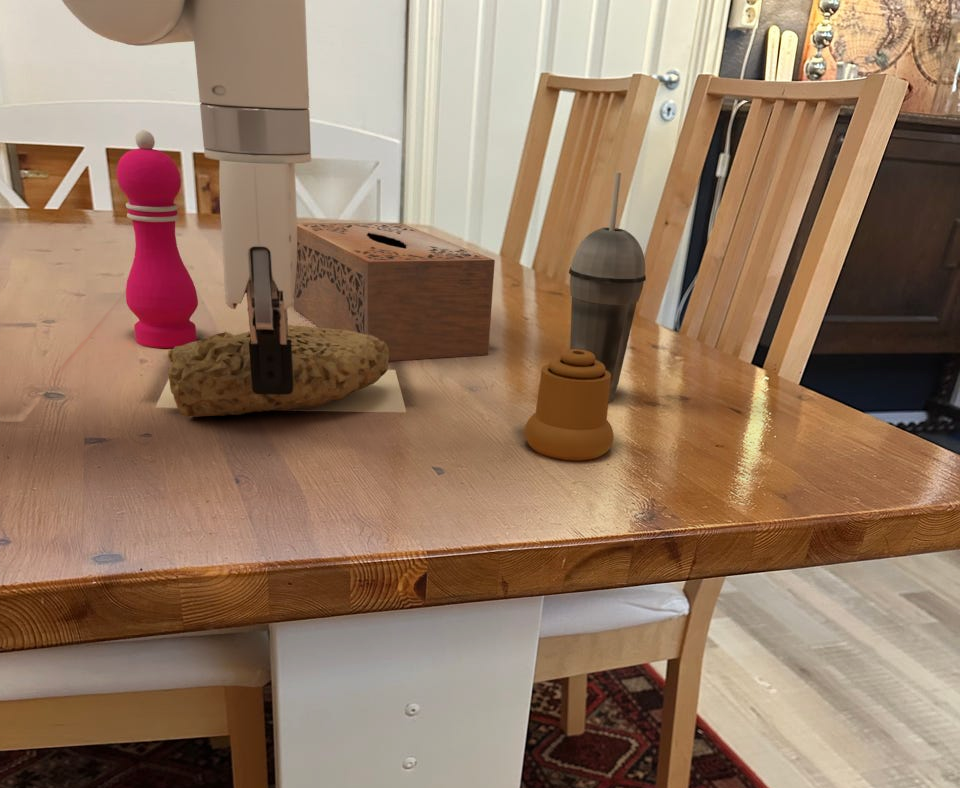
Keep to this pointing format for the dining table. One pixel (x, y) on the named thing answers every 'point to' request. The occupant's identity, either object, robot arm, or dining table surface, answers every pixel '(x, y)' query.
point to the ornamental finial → (572, 408)
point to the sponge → (315, 359)
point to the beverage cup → (606, 293)
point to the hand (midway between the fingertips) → (273, 390)
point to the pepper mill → (156, 248)
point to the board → (368, 399)
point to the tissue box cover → (395, 288)
